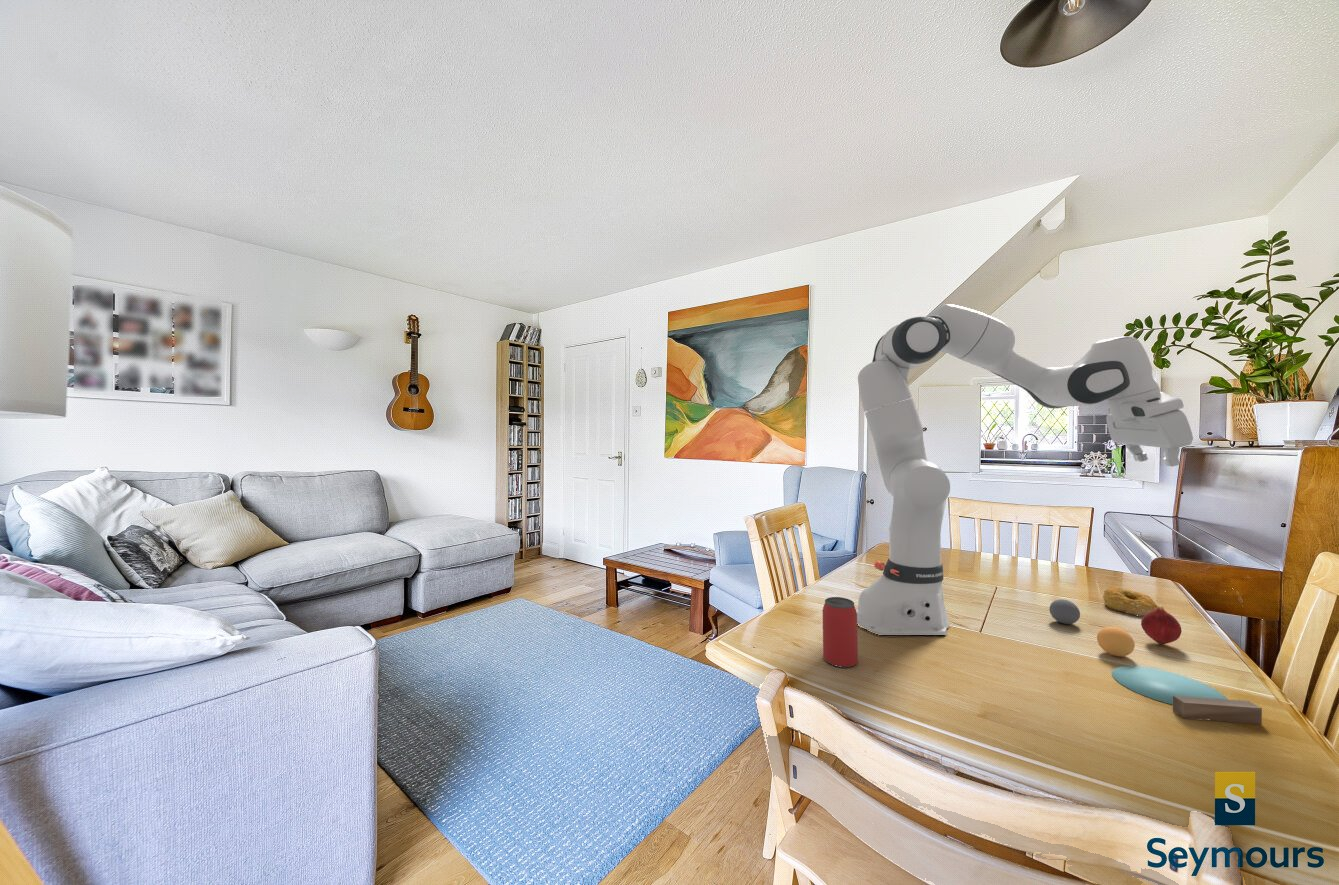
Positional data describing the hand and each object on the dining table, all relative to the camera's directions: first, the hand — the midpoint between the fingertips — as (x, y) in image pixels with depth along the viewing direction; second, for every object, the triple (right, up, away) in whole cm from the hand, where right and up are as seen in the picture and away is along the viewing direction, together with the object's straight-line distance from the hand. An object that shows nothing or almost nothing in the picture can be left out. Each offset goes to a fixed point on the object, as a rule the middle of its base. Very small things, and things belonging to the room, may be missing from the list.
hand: (1156, 463), depth 106 cm
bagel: (+5, -38, +11) cm, 40 cm away
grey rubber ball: (-18, -35, +4) cm, 39 cm away
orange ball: (-21, -35, -12) cm, 43 cm away
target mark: (-23, -38, -24) cm, 50 cm away
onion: (-7, -38, -8) cm, 39 cm away
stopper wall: (-24, -38, -33) cm, 56 cm away
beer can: (-76, -39, -12) cm, 86 cm away
